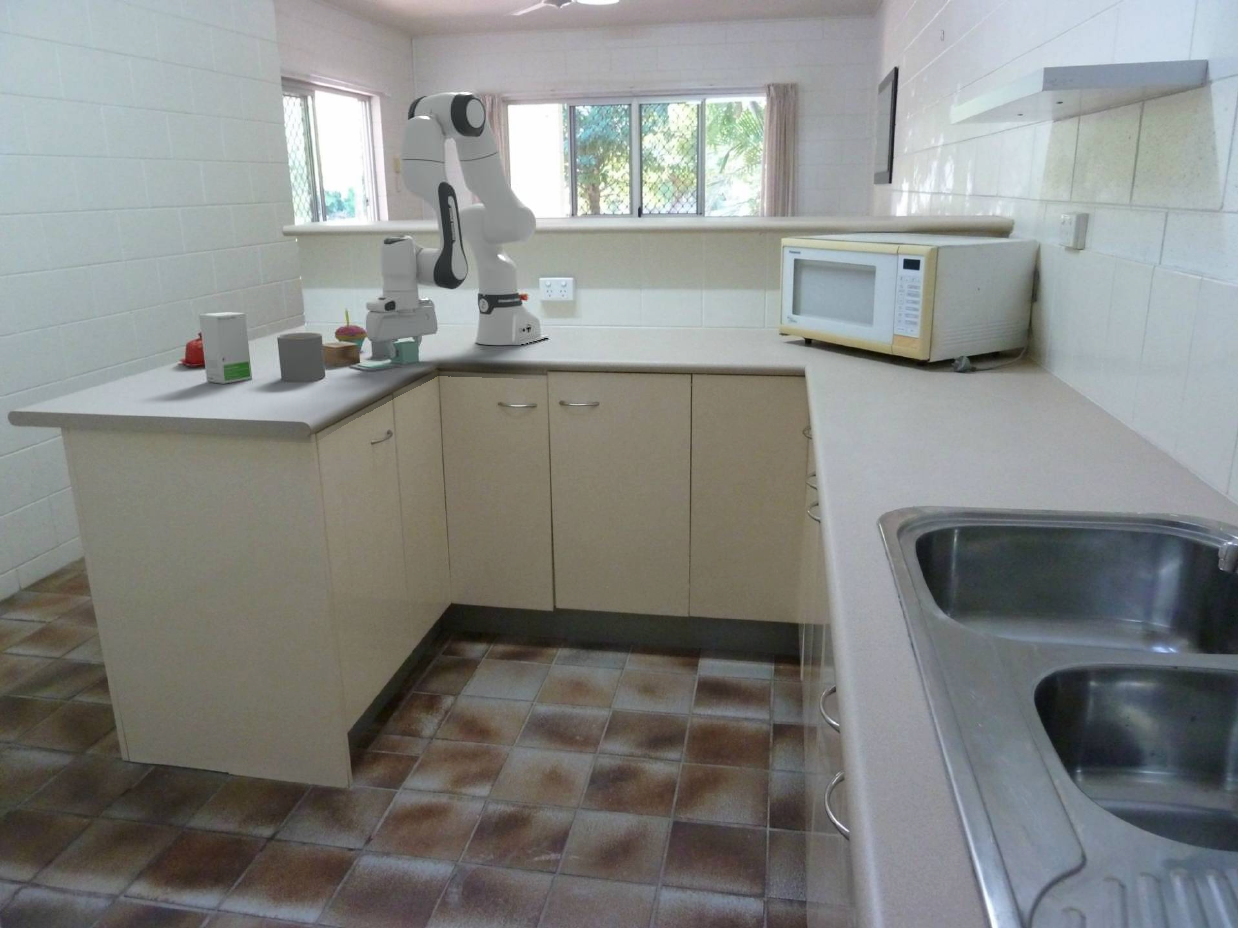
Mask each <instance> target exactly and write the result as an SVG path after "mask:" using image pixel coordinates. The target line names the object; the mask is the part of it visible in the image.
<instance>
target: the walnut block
mask: <svg viewBox="0 0 1238 928" xmlns="http://www.w3.org/2000/svg"><path fill="white" fill-rule="evenodd" d="M323 353H324V365H327V364H328V365H327V366H332V365H334V366H333V367H342V366H341V365H343V366H350V365H357V364H361V357H360V351H359V344H355V343H349V342H344V341H342V342H339V341H335V342H329V343H323Z"/></svg>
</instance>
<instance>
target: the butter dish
mask: <svg viewBox="0 0 1238 928" xmlns="http://www.w3.org/2000/svg"><path fill="white" fill-rule="evenodd" d="M198 336H199V337H198V338H196V339H192V340H190V341H188V342H187V343H186V344H185V353H184V358H180V359H179V362H181V363H183V364H185V365H186V366H188V367H193V368H205V360H204V352H203V343H202V335H201V331H199V332H198Z"/></svg>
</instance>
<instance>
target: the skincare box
mask: <svg viewBox="0 0 1238 928" xmlns="http://www.w3.org/2000/svg"><path fill="white" fill-rule="evenodd" d="M246 317H247V316H246V313H245V312H233V311H231V312H230V311H226V312H212V313H211V312H210V313H200V314H198V318H199V325H200V332H201V335H202V343H203V352H204V360H205V367H204V368H205V377H206V381H207V382H209V383H213V384H229V383H235V382H243V381H249V380H252V379H253V375H252V366H251V356H250V347H249V346H250V345H249V337H248V328H247V327H248V326H247V318H246Z"/></svg>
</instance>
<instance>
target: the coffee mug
mask: <svg viewBox="0 0 1238 928" xmlns="http://www.w3.org/2000/svg"><path fill="white" fill-rule="evenodd" d="M323 342H324V341H323V335H322V333H318V332H292V333H291V332H290V333H283V334H279V335H277V346H278V347H277V349H278V350H277V351H278V358H279V368H280V376H281V380H282V381H284V382H294V383H303V382H313V381H312V380H314V381H318V379H320V380H322V379H321V378H323V379H325V378H326V377H325V376H326V366H325V365H326V364H324V353H323V344H324V343H323Z"/></svg>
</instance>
